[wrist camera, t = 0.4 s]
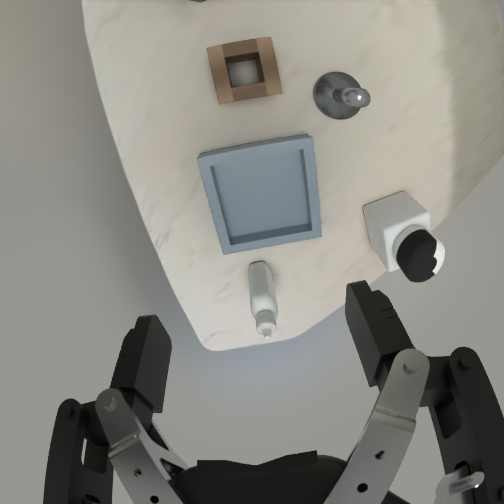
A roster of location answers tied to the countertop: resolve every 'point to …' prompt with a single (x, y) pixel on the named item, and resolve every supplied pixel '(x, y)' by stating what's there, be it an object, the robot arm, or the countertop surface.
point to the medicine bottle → (404, 236)
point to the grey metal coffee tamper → (339, 95)
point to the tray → (263, 192)
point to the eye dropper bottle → (263, 298)
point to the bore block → (241, 52)
